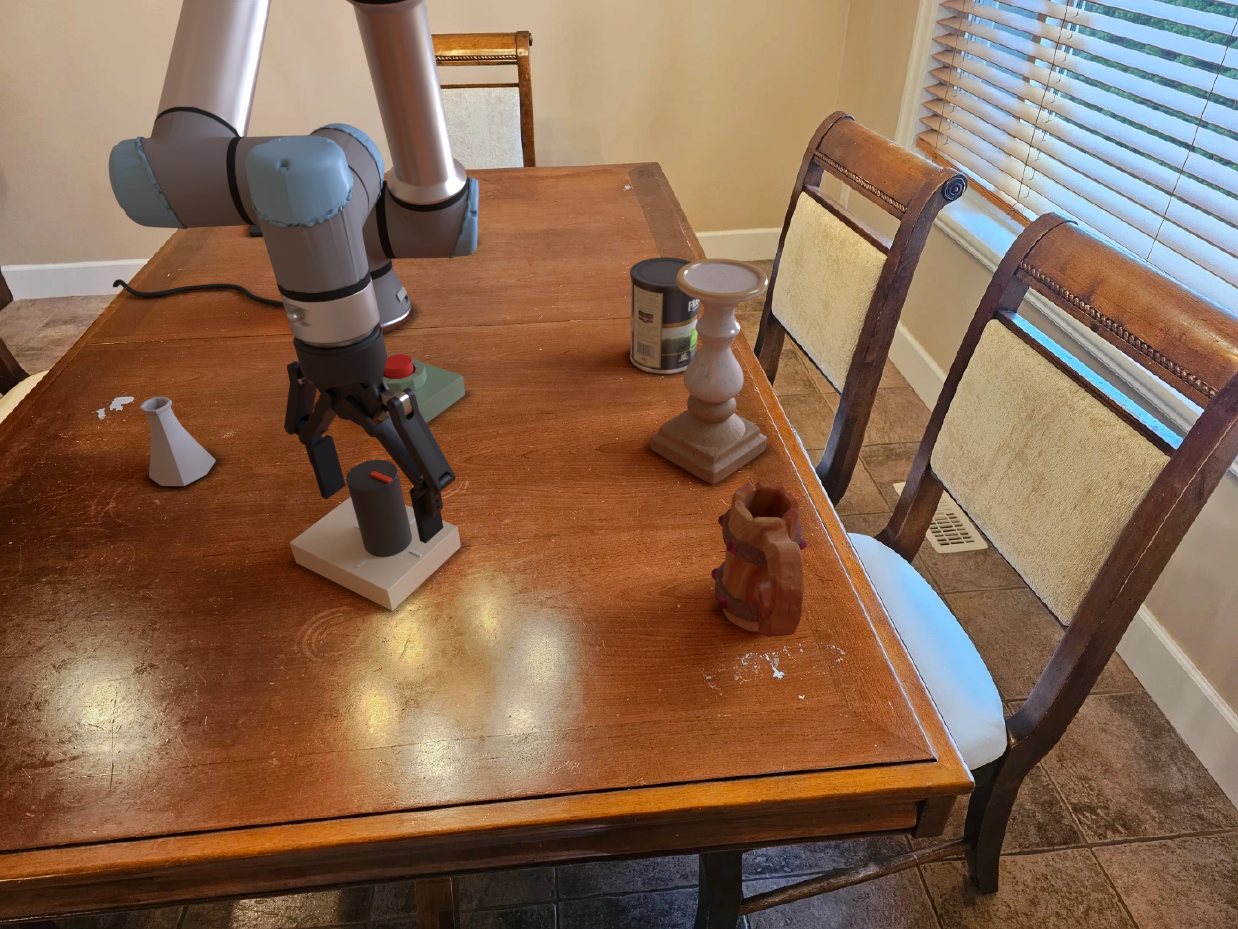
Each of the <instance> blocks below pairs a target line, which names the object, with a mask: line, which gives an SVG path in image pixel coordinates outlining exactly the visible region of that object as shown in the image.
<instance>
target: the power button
mask: <svg viewBox="0 0 1238 929" xmlns="http://www.w3.org/2000/svg"><path fill="white" fill-rule="evenodd" d="M396 354H397V355H392V356H389V355H388V356H389V357H387V363H386V366H385V369H384V375H385V377H386V378H389V379H401V378H405V377H408V376H410V375H411V374H413V372H414V369H413V363H412V359H411V358H412V357H411V356H410V355H407V354H402V353H401V354H400V353H399V354H398V353H396Z"/></svg>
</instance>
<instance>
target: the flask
mask: <svg viewBox="0 0 1238 929" xmlns="http://www.w3.org/2000/svg"><path fill="white" fill-rule="evenodd" d="M172 405H173V401H172V400H171V399H170V398H168V397H167V396H154V397H151V398H149V399H147V400H144V401H143V402H142V404H141V405H140V406H139V410H140V411H142V412H143V413H144V414H145V417H146V419H147V421H148V426H149V431H150V454H149V455H150V456H149V470H148V472H149V473H148V478H149V479H151V480H152V481H154V482H155V483H157V485H159V486H160V487H185V486H187V485H190V484H191V483H193V482H195V481H197V480H200V478H203V477H205V476H206V475H208V473H209V471H210V470H211V469H212V467H213V466H214V464H215V463H216V461H217V460H216V459H215V458H214V457H213V456H212V454H211V453H209V452H208V451H207V450H206V449H205V448H204V447H203V446H202V445H201V444H200V443H199V442H198V441H197V440H196V439H195V438H194V437H193V436H192V435H191V434H190V433H189V432H188V431H187V430H186V429H185V428H184V427H183V425H182V424H181V422H180V421H179V420H178V418H177V417H176V416H175V413H174V411H173V409H172Z"/></svg>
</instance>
